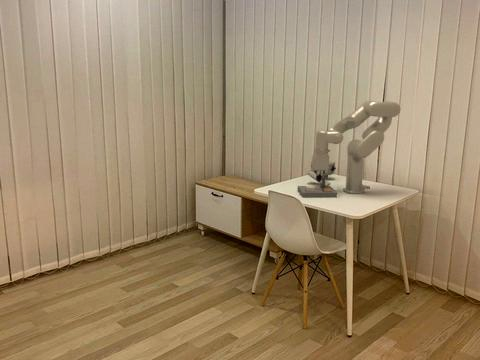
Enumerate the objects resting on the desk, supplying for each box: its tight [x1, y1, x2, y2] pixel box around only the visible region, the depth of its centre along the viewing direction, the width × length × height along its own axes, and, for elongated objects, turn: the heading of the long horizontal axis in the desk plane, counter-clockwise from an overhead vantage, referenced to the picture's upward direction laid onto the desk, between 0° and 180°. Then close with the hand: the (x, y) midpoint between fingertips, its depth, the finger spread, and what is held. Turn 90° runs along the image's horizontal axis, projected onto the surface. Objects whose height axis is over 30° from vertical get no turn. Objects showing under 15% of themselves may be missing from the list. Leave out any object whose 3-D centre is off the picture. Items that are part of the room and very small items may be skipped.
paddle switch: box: [318, 176, 327, 188], centre depth 284 cm, size 4×4×6 cm
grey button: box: [305, 185, 315, 192], centre depth 276 cm, size 4×4×3 cm
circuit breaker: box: [319, 161, 337, 180], centre depth 319 cm, size 8×14×15 cm, turn 57°
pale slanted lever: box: [306, 171, 331, 186], centre depth 304 cm, size 8×6×14 cm
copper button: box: [322, 188, 331, 192], centre depth 277 cm, size 4×4×3 cm
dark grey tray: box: [297, 185, 338, 199], centre depth 281 cm, size 20×16×3 cm
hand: (318, 181), depth 284 cm, fingers closed
